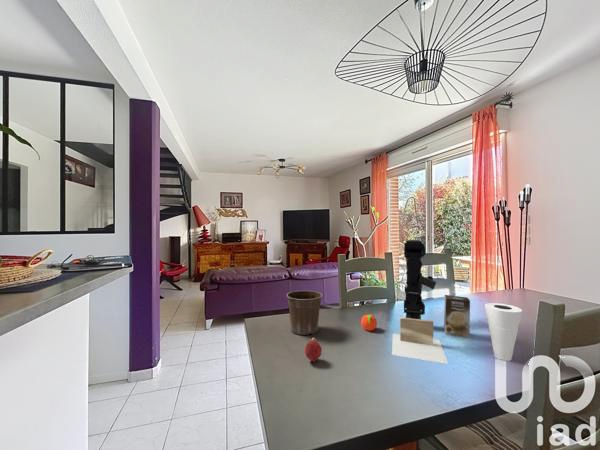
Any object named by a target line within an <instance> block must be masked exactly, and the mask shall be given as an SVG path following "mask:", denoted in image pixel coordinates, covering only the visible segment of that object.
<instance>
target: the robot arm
mask: <svg viewBox="0 0 600 450" xmlns="http://www.w3.org/2000/svg"><path fill="white" fill-rule="evenodd" d="M403 245H404V247H403V255H404V258H405V263H406V273H405V274H406V282H405V284H406V285H404V294H405V299H403V313H404V314H405V318H411V319H420V320H422V316H424V315H425V314H426V305H425V303H424V301H422V300H423V299H422V291H423V286H426V287H427V288H429V289H431V290H434V289H435V287H436V284H437V281H436V280H434V279H433V276H431V275H429V276H428V275H427V277H426V276H424V275H423V273H422V268H423V267H422V266H423V263H422V258H424V257H425V255H426V246H425V244H424V243H423V242H422V240H419V239H408V240H407V239H406V240H405V242H404V244H403Z"/></svg>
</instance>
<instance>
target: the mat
mask: <svg viewBox="0 0 600 450" xmlns="http://www.w3.org/2000/svg"><path fill="white" fill-rule="evenodd" d="M391 342H392V344H391V345H392V347H391V355H392V356H398V357H402V358H409V359H415V360H422V361H427V362H434V363H438V364H440V363H441V364H446V365H448V364H449V362H448V359H447V357H446V354H445V351H444V348H443V345H442V343H441V340H440V339H437V338H433V345H427V344H420V343H413V342H406V341H400V333H392V341H391Z"/></svg>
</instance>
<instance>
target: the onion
mask: <svg viewBox="0 0 600 450" xmlns="http://www.w3.org/2000/svg"><path fill="white" fill-rule="evenodd" d="M322 350H323V349H322V346H321V344H320V343H319V342H318V341H316V338H315V337H312V338H311V340H309V341H308V342H307V343H306V345H305V347H304V354H305V357H306V358H307V359H308V360H309V361H311V362H316V361H317V360H318V359H319V358H321V356H322Z"/></svg>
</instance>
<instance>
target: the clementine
mask: <svg viewBox="0 0 600 450" xmlns="http://www.w3.org/2000/svg"><path fill="white" fill-rule="evenodd" d="M360 322H361V326H362V328H363V329H364V330H365V331H368V332H372V331H374V330H375V329H376V328H377V324H378V321H377V318H376V317H374V315H372V314H365V315H363V316H362V318H361V320H360Z"/></svg>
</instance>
